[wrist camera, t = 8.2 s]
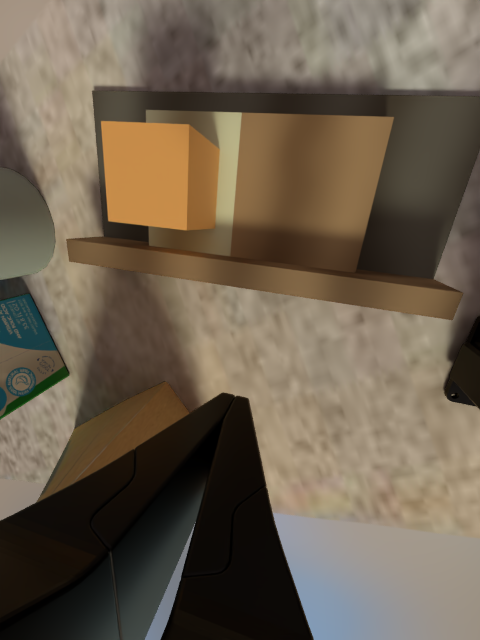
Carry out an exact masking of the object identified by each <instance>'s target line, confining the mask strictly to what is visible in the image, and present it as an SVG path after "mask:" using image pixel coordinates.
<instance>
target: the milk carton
mask: <svg viewBox="0 0 480 640" xmlns="http://www.w3.org/2000/svg"><path fill="white" fill-rule="evenodd" d="M68 376H69V373H68V371H67V369H66V367H65V365H64V363H63V361H62V359H61V357H60V355H59V353H58V351H57V349H56V347H55V345H54V343H53V341H52V339H51V337H50V335H49V332H48V330H47V328H46V326H45V324H44V322H43V320H42V318H41V316H40V314H39V312H38V310H37V308H36V306H35V304H34V302H33V300H32V298H31V296H30V294H24V295H20V296H16V297H12V298H8V299H4V300H0V419H2V418H3V417H5V416H6V415H8V414H10V413H11V412H13V411H14V410H16V409H17V408H19V407H21V406H22V405H24V404H25V403H27V402H28V401H30V400H32V399H33V398H35V397H36V396H38V395H39V394H41V393H43V392H44V391H46V390H47V389H49V388H50V387H52V386H54V385H55V384H57V383H58V382H60V381H61V380H63V379H65V378H66V377H68Z"/></svg>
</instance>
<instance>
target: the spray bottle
mask: <svg viewBox="0 0 480 640" xmlns="http://www.w3.org/2000/svg"><path fill="white" fill-rule="evenodd" d="M54 246H55V232H54V224H53V221H52V218H51V215H50V212H49V209H48V206H47V205H46V203H45V201H44V200H43V198H42V196H41V195H40V193H39V191H38V190H37V189H36V188H35V187H34V186H33V185H32V184H31V183H30V182H29V181H28V180H27V179H26V178H25V177H24V176H22V175H20V174H19V173H17V172H15V171H14V170H12V169H8V168H2V167H0V280H3V279H8V278H13V277H19V276H24V275H30V274H35V273H38V272H39V271H41V270H42V269H44V268H45V267H46V266H47V264H48V263H49V261H50V260H51V258H52V256H53V251H54Z"/></svg>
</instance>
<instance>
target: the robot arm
mask: <svg viewBox="0 0 480 640" xmlns="http://www.w3.org/2000/svg"><path fill="white" fill-rule="evenodd" d="M450 377H451V378H450V380H449V382H448V384H447V387H446V389H445V392H444V394H445V396H446V397H447V399H448V400H450V401H452V402H457V403H462V404H467V405H472V406H476V407H478V408H479V409H480V316H479V317H478V318H477V319H476V320H475V323H474V325H473V327H472V330H471V332H470V334H469V336H468V339H467V341H466V343H465V344H463V345H462V347H461V350H460V352H459V354H458V357H457V359H456V361H455V364H454V366H453V368H452V370H451V373H450ZM452 393H456V394H455V395H453V396H451V394H452ZM195 522H196V523H195ZM194 524H195V527H194ZM193 527H194V531H193V535H192V538H191V542H190V546H189V549H188V553H187V557H186V560H185V564H184V568H183V572H182V576H181V581H180V583H179V587H178V590H177V594H176V597H175V601H174V604H173V607H172V610H171V614H170V617H169V620H168V622H167V625H166V628H165V630H164V633H163V635H162V637H161V640H314V639H313V636H312V633H311V630H310V628H309V625H308V622H307V619H306V616H305V613H304V610H303V607H302V605H301V601H300V598H299V595H298V593H297V589H296V586H295V583H294V580H293V578H292V575H291V572H290V569H289V566H288V563H287V560H286V557H285V554H284V551H283V548H282V544H281V541H280V538H279V535H278V531H277V528H276V525H275V521H274V517H273V513H272V508H271V504H270V500H269V495H268V490H267V488H266V481H265V476H264V471H263V466H262V461H261V457H260V452H259V447H258V442H257V437H256V432H255V427H254V422H253V417H252V413H251V408H250V403H249V399H248V398H246V397H241V396H236V397H235V396H234V395H233V394H228V393H221V394H219V395H218V396H216V397H215V398H213V399H211V400H210V401H208V402H207V403H205V404H203V405H202V406H200V407H199V408H197V409H196V410H194V411H192V412H191V413H189V414H188V415H186V416H184V417H183V418H181V419H180V420H178V421H177V422H175V423H173V424H172V425H170V426H169V427H167V428H165V429H164V430H162V431H161V432H159V433H157V434H156V435H154V436H153V437H151V438H150V439H148V440H146V441H145V442H143V443H142V444H140V445H138V446H137V447H136V448H135V449H132V450H130V451H129V452H127V453H126V454H124V455H122V456H121V457H119V458H117V459H116V460H114V461H112V462H111V463H109V464H107V465H106V466H104V467H102V468H101V469H99V470H97V471H95V472H93V473H92V474H90V475H88V476H86V477H84V478H82V479H81V480H79V481H77V482H75V483H73V484H71V485H69V486H67V487H65V488H63V489H61V490H60V491H58V492H56V493H54V494H52V495H50V496H48V497H46V498H44V499H42V500H40V501H38V502H36V503H35V504H33V505H31V506H29V507H27V508H25V509H23V510H21V511H19V512H17V513H15V514H14V515H11V516H9V517H7V518H5V519H3V520H1V521H0V640H145V637H146V635H147V632H148V630H149V628H150V626H151V623H152V621H153V619H154V616H155V614H156V612H157V610H158V607H159V605H160V602H161V600H162V598H163V596H164V593H165V591H166V589H167V586H168V584H169V582H170V579H171V577H172V575H173V573H174V570H175V568H176V566H177V563H178V561H179V559H180V557H181V554H182V552H183V550H184V547H185V545H186V543H187V540H188V538H189V536H190V534H191V531H192V529H193Z"/></svg>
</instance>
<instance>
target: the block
mask: <svg viewBox="0 0 480 640" xmlns="http://www.w3.org/2000/svg"><path fill="white" fill-rule="evenodd" d="M101 129H102V142H103V156H104V169H105V183H106V196H107V210H108V221H111V222H119V223H128V224H136V225H145V226H153V227H162V228H170V229H179V230H201V229H215V222H216V205H217V188H218V172H219V155H220V149H219V148H217V147H216V146H215V145H214V144H213V143H211V142H210V141H209V140H208V139H206V138H205V137H204V136H203V135H202V134H200V133H199V132H198V131H197V130H195V129H194V128H193V127H192V126H191V125H189V124H166V123H141V122H116V121H101Z"/></svg>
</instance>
